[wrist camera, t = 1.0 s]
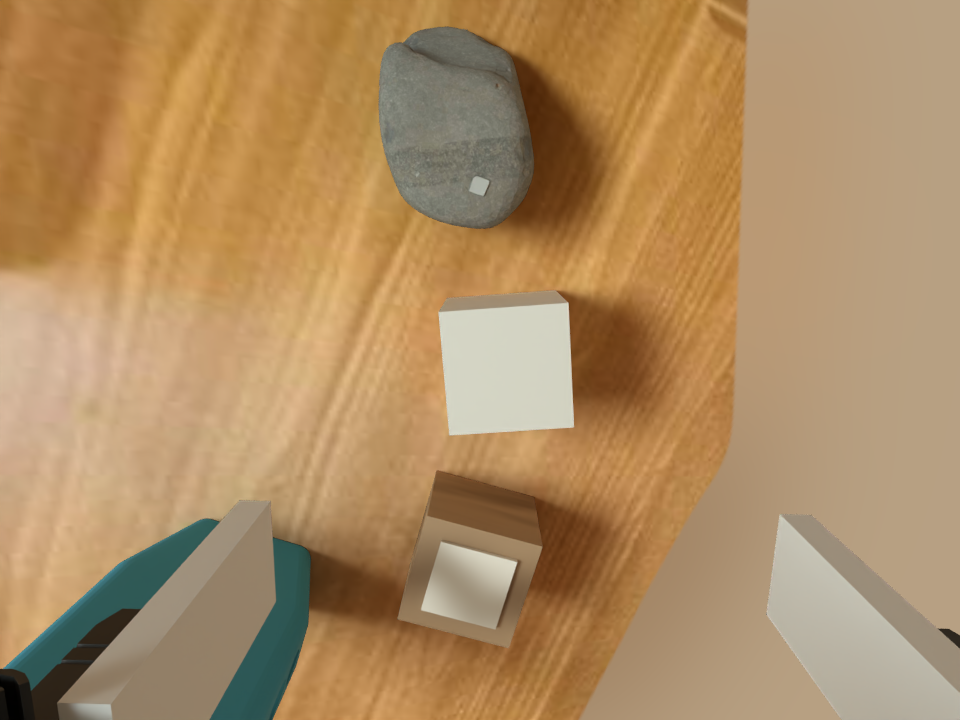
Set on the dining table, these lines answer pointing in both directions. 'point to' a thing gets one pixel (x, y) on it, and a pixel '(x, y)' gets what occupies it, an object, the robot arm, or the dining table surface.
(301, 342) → the dining table surface
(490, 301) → the plain block
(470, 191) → the stone
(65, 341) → the dining table surface
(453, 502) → the marked block
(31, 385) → the dining table surface
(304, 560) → the block
